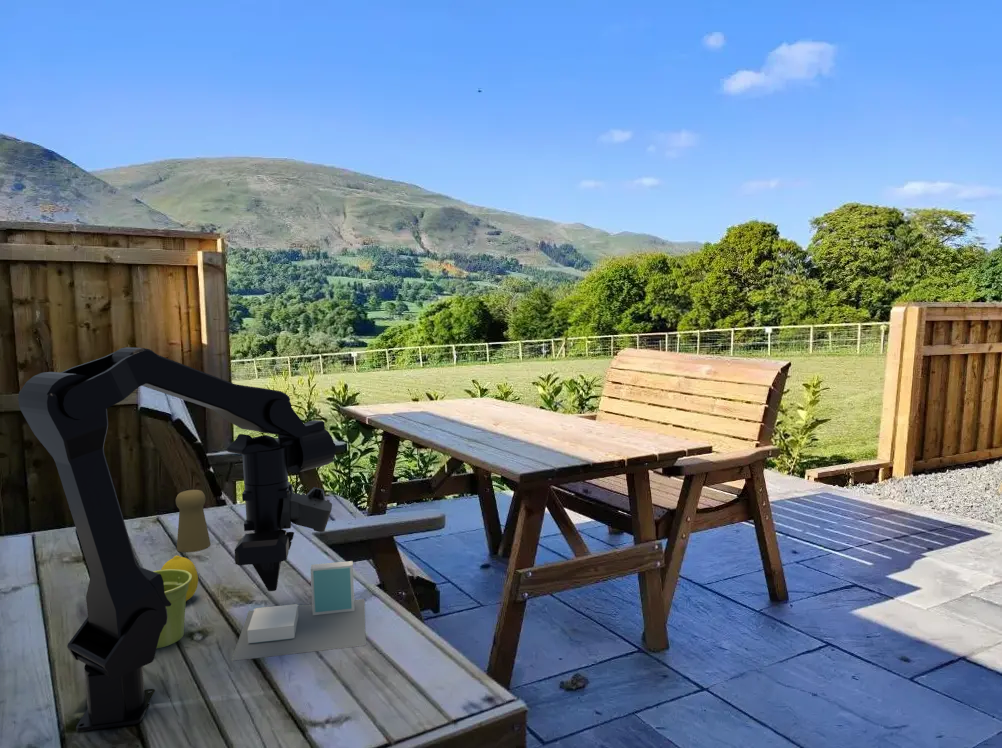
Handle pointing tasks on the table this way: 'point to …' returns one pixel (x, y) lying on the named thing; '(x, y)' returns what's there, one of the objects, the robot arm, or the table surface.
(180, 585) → the plant pot
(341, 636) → the slate mat
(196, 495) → the cork
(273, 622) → the tile
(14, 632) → the table surface
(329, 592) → the tile
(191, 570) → the lemon
